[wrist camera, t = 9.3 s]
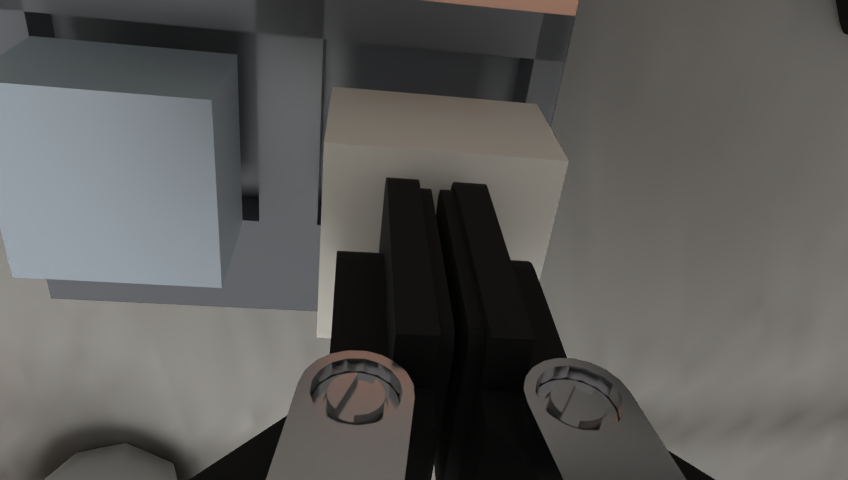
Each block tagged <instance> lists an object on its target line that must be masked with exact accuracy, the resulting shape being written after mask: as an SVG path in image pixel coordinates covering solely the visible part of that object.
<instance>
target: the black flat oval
mask: <svg viewBox="0 0 848 480" xmlns="http://www.w3.org/2000/svg"><path fill="white" fill-rule="evenodd" d="M836 4H837V9H838V15H839V20H840V24H841V27H842V30H843V32H844V33H845V34H847V35H848V0H836Z"/></svg>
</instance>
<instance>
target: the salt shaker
mask: <svg viewBox="0 0 848 480" xmlns="http://www.w3.org/2000/svg"><path fill="white" fill-rule="evenodd" d="M44 480H178V479H177V475H176V471H175V467H174V463H172V462H170V461H167V460H165V459H162V458H160V457H158V456H155V455H153V454H151V453H148V452H146V451H144V450H141V449H139V448H137V447H134V446H132V445H130V444H127V443H122V444H117V445H112V446H107V447H102V448H97V449H92V450H87V451H82V452H77V453H75V454H74V455H73V456H72V457H70V458H69V459H68V460H67V461H66V462H64V463H63V464H62V465H61V466H60V467H58V468H57V469H56V470H55V471H54V472H52V473H51V474H50V475H49V476H48V477H46V478H45V479H44Z"/></svg>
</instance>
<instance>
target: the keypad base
mask: <svg viewBox="0 0 848 480" xmlns="http://www.w3.org/2000/svg"><path fill="white" fill-rule="evenodd" d="M578 3H579V2H578ZM576 12H577V11H576ZM574 21H575V16H571V15H561V14H551V13H542V12H532V11H522V10H512V9H502V8H492V7H483V6H473V5H463V4H453V3H443V2H433V1H424V0H0V55H1V54H3V53H5V52H6V51H8V50H9V49H11V48H12V47H14V46H15V45H17V44H18V43H20V42H21V41H23V40H24V39H26V38H27V37H29V36H37V37H48V38H59V39H70V40H81V41H92V42H103V43H115V44H126V45H137V46H148V47H159V48H170V49H181V50H193V51H204V52H215V53H226V54H237V68H238V98H239V129H240V159H241V190H242V220H243V223H242V226H241V229H240V232H239V235H238V239H237V242H236V245H235V248H234V251H233V254H232V257H231V261H230V264H229V267H228V270H227V273H226V276H225V280H224V283H223V286H222V288H211V287H192V286H173V285H153V284H134V283H115V282H95V281H76V280H57V279H47V282H48V287H49V291H50V296H51V298H55V299H75V300H96V301H116V302H137V303H158V304H178V305H199V306H219V307H240V308H260V309H281V310H301V311H318V286H319V260H320V233H321V206H322V180H323V153H324V138H325V132H326V125H327V118H328V111H329V105H330V98H331V91H332V86H334V87H345V88H357V89H369V90H380V91H392V92H404V93H415V94H427V95H439V96H450V97H462V98H473V99H485V100H497V101H508V102H520V103H532V104H537V105H538V107H539V109H540V110H541V112H542V114H543V116H544V117H545V119H546V121H547V123H548V125H549V126H550V128H551V123H552V119H553V114H554V110H555V105H556V101H557V96H558V92H559V88H560V83H561V79H562V74H563V70H564V65H565V61H566V56H567V52H568V47H569V43H570V39H571V34H572V30H573V25H574Z"/></svg>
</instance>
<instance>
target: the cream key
mask: <svg viewBox="0 0 848 480" xmlns="http://www.w3.org/2000/svg"><path fill="white" fill-rule="evenodd" d="M568 164H569V160H568V158H567V157H566V155H565V153H564V151H563V149H562V148H561V146H560V144H559V142H558V141H557V139H556V137H555V135H554V133H553V132H552V130H551V128H550V126H549V125H548V123H547V121H546V119H545V117H544V116H543V114H542V112H541V110H540V109H539V107H538V105H537V104H532V103H520V102H508V101H497V100H485V99H473V98H462V97H450V96H439V95H427V94H415V93H404V92H392V91H380V90H369V89H357V88H345V87H334V86H332V91H331V98H330V105H329V111H328V118H327V125H326V132H325V138H324V153H323V180H322V206H321V233H320V260H319V286H318V313H317V338H331V331H332V316H333V301H334V286H335V271H336V256H337V251H353V252H371V253H379V244H380V234H381V223H382V212H383V201H384V190H385V182H386V177H389V178H403V179H418V180H419V182H420V188H426V189H431V190H432V196H433V202H434V208H435V214H436V210H437V203H438V196H439V192H440V190H451V186H452V184H453V182H462V183H477V184H486V185H487V187H488V190H489V193H490V196H491V200H492V203H493V206H494V209H495V212H496V215H497V219H498V222H499V225H500V228H501V231H502V234H503V238H504V241H505V244H506V247H507V250H508V253H509V256H510V260H519V261H529V262H531V263H532V265H533V267H534V269H535V271H536V274H537V277H538V280H539V281H540V277H541V273H542V269H543V265H544V261H545V257H546V253H547V249H548V245H549V241H550V237H551V233H552V229H553V225H554V221H555V217H556V213H557V209H558V205H559V200H560V196H561V192H562V188H563V184H564V180H565V176H566V172H567V168H568Z"/></svg>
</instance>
